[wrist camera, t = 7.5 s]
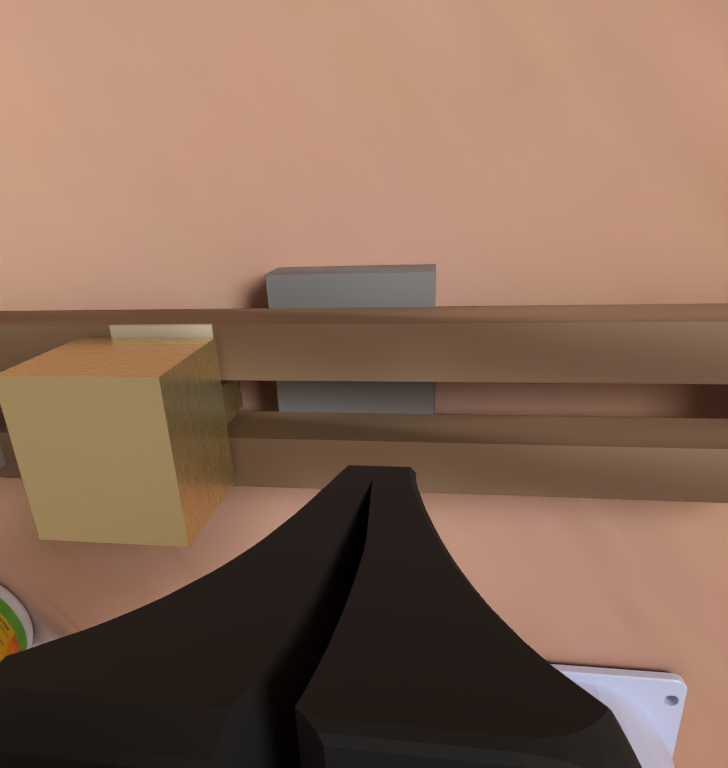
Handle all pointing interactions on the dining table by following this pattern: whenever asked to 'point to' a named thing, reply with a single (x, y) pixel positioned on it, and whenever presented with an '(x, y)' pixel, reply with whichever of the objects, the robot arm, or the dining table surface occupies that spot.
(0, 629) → the supplement bottle
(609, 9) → the dining table surface
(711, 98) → the dining table surface
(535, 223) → the dining table surface
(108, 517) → the block
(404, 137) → the dining table surface
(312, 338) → the beam
